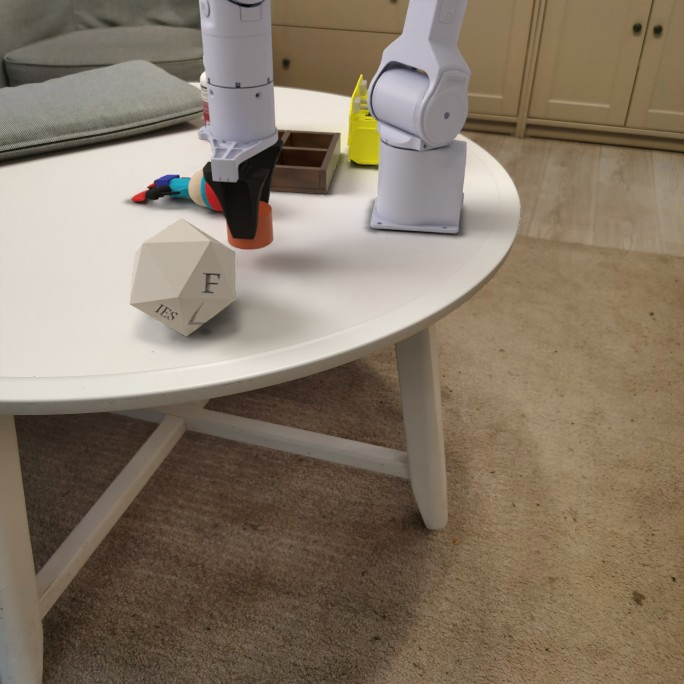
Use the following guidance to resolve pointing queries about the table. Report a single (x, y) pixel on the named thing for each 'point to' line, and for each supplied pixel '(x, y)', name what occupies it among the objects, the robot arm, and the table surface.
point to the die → (183, 277)
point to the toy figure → (182, 190)
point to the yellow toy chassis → (362, 129)
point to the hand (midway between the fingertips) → (249, 226)
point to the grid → (306, 161)
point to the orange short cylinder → (262, 234)
